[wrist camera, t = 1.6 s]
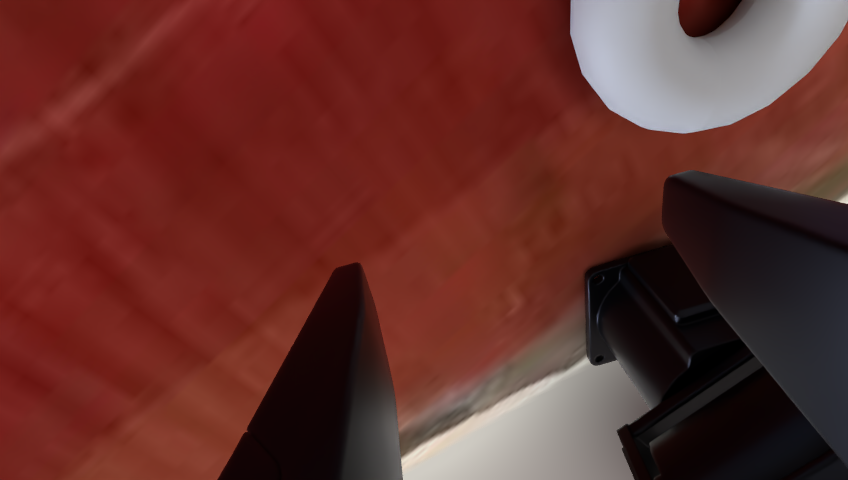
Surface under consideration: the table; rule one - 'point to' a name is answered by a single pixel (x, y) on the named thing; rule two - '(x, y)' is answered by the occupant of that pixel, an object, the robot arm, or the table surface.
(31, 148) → the table surface
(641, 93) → the donut
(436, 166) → the table surface
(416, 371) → the table surface
